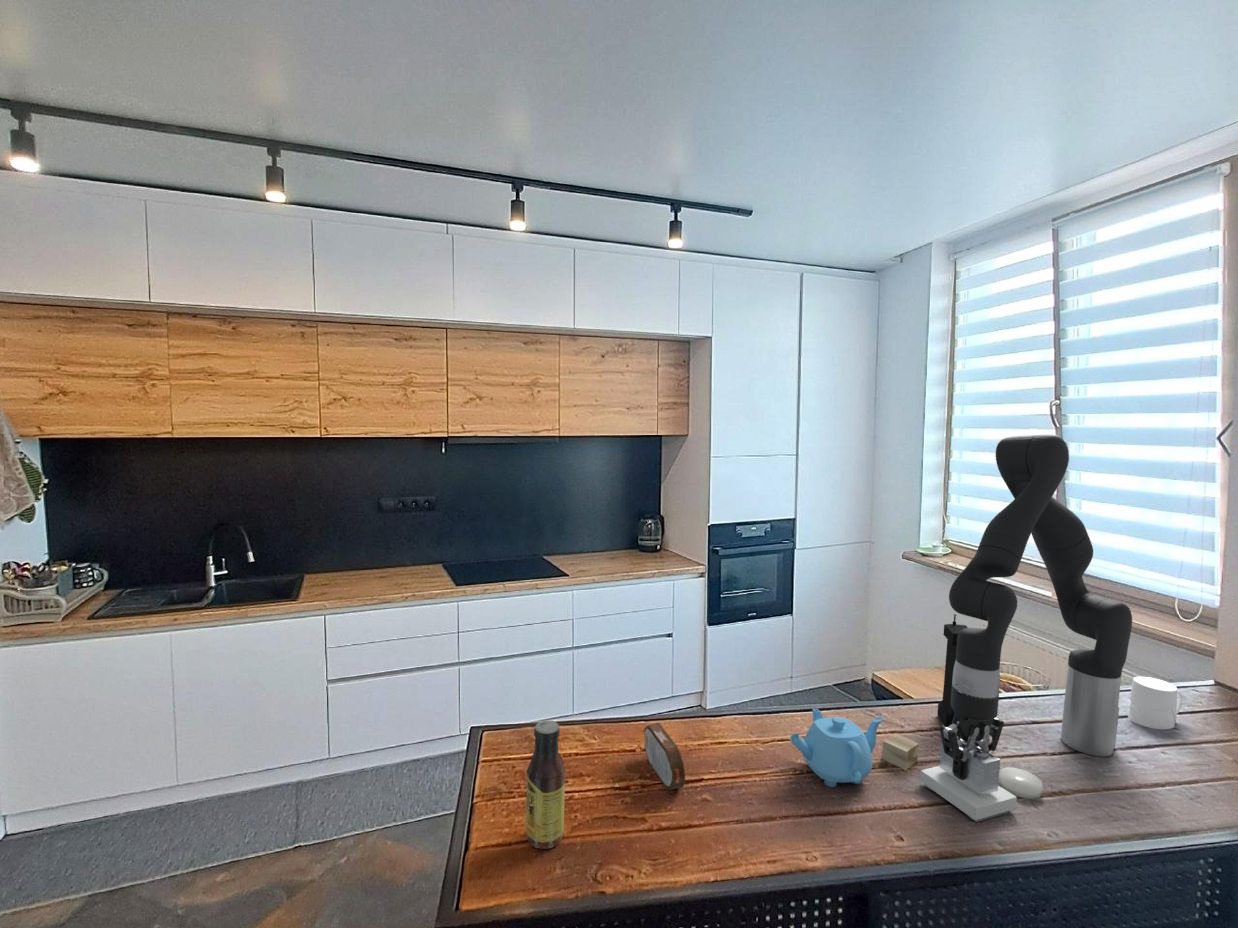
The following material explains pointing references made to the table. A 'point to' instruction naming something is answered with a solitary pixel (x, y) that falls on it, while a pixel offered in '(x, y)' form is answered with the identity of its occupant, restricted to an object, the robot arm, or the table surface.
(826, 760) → the teapot
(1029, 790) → the glossy white pebble
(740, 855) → the table surface
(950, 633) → the portable radio
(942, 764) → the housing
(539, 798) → the sauce bottle
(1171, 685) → the mug
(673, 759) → the tin
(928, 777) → the stand
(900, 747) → the oak block
